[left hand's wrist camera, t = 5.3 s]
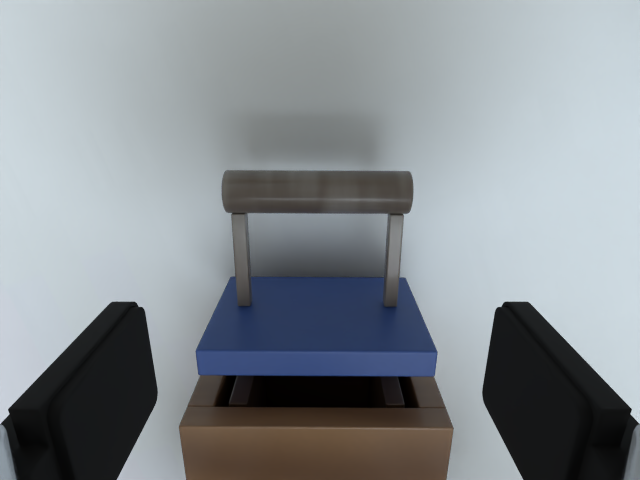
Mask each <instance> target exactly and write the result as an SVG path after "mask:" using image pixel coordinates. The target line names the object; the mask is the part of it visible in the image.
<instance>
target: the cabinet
mask: <svg viewBox="0 0 640 480" xmlns="http://www.w3.org/2000/svg"><path fill="white" fill-rule="evenodd" d="M236 376H237V375H200V377H199V380H198V382H197V385H196V387H195V389H194V392H193V394H192V397H191V399H190V401H189V404H188V407H187V408H186V411H185V413H184V416H183V418H182V420H181V423H180V425H179V431H180V438H181V445H182V452H183V459H184V466H185V474H186V480H446V478H447V471H448V463H449V456H450V449H451V442H452V435H453V426H452V423H451V420H450V418H449V415H448V413H447V410H446V407H445V405H444V402H443V399H442V397H441V394H440V392H439V389H438V386H437V384H436V381H435V378H434V376H433V377H412V376H398V380H399V384H400V388H401V392H402V396H403V399H404V403H405V407H404V408H310V407H229V400H230V397H231V393H232V390H233V387H234V383H235V380H236Z"/></svg>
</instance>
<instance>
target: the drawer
mask: <svg viewBox="0 0 640 480" xmlns="http://www.w3.org/2000/svg"><path fill="white" fill-rule="evenodd" d="M222 201H223V206H224V209H225V211H226V212H227V213H232V215H231V218H232V232H233V246H234V260H235V274H236V277H230V279H229V282H228V284H227V286H226V288H225V290H224V292H223V294H222V296H221V298H220V300H219V303H218V305H217V307H216V309H215V311H214V313H213V315H212V317H211V319H210V322H209V324H208V326H207V328H206V330H205V332H204V334H203V336H202V338H201V340H200V343H199V345H198V347H197V349H196V358H197V367H198V374H199V375H237V376H236V380H235V383H234V387H233V390H232V393H231V397H230V400H229V407H310V408H404V407H405V403H404V399H403V396H402V392H401V388H400V384H399V380H398V376H412V377H433V376H434V375H435V369H436V361H437V350H436V348H435V345H434V343H433V341H432V338H431V336H430V334H429V331H428V329H427V327H426V324H425V322H424V320H423V317H422V315H421V313H420V311H419V308H418V306H417V304H416V301H415V299H414V297H413V294H412V292H411V290H410V287H409V285H408V283H407V280H406V278H399V273H400V260H401V246H402V233H403V219H404V215H403V214H407V213H409V212H410V210H411V207H412V202H413V179H412V175H411V173H410V172H409V171H262V170H227V171H225V173H224V175H223V179H222ZM247 213H354V214H388V221H387V238H386V254H385V270H384V278H383V277H251V267H250V250H249V232H248V215H247Z"/></svg>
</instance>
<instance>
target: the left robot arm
mask: <svg viewBox="0 0 640 480" xmlns="http://www.w3.org/2000/svg"><path fill="white" fill-rule="evenodd" d="M157 394H158V391H157V384H156V377H155V371H154V365H153V359H152V353H151V346H150V340H149V334H148V328H147V322H146V315H145V311H144V309H143V308H142V307H138V305H137V303H136V302H111V303H110V304H109V305H108V306H107V307H106V308H105V309H104V310H103V311H102V312H101V313H100V314H99V315H98V316H97V317H96V318H95V320H94V321H93V322H92V323H91V324H90V325H89V326H88V327H87V328H86V329H85V330H84V331H83V332H82V333H81V334H80V335H79V336H78V337H77V338H76V339H75V340H74V341H73V342H72V343H71V344H70V346H69V347H68V348H67V349H66V350H65V351H64V352H63V353H62V354H61V355H60V356H59V357H58V358H57V359H56V360H55V361H54V362H53V363H52V364H51V365H50V366H49V367H48V368H47V369H46V371H45V372H44V373H43V374H42V375H41V376H40V377H39V378H38V379H37V380H36V381H35V382H34V383H33V384H32V385H31V386H30V387H29V388H28V389H27V390H26V391H25V392H24V393H23V394H22V395H21V397H20V398H19V399H18V400H17V401H16V402H15V403H14V404H13V405H12V406H11V407H10V408H9V409H8V410H9V413H10V415H9V416H8V417H7V418H6V419H5V420H4V421H3V422H2V423H1V424H0V480H117V478H118V476H119V474H120V472H121V470H122V468H123V466H124V464H125V462H126V460H127V458H128V457H129V455H130V453H131V451H132V449H133V447H134V445H135V443H136V441H137V439H138V437H139V435H140V433H141V431H142V429H143V427H144V425H145V424H146V422H147V420H148V418H149V416H150V414H151V412H152V410H153V408H154V406H155V404H156V401H157ZM482 394H483V401H484V404H485V406H486V408H487V410H488V412H489V414H490V416H491V418H492V420H493V422H494V424H495V425H496V427H497V429H498V431H499V433H500V435H501V437H502V439H503V441H504V443H505V445H506V447H507V449H508V451H509V453H510V455H511V457H512V458H513V460H514V462H515V464H516V466H517V468H518V470H519V472H520V474H521V476H522V478H523V480H640V424H639V423H638V422H637V421H636V420H635V419H634V418H633V417H632V416H631V415H630V413H631V410H632V409H631V408H630V407H629V406H628V405H627V404H626V403H625V402H624V401H623V400H622V399H621V398H620V397H619V395H618V394H617V393H616V392H615V391H614V390H613V389H612V388H611V387H610V386H609V385H608V384H607V383H606V382H605V381H604V380H603V379H602V378H601V377H600V376H599V375H598V374H597V373H596V372H595V371H594V369H593V368H592V367H591V366H590V365H589V364H588V363H587V362H586V361H585V360H584V359H583V358H582V357H581V356H580V355H579V354H578V353H577V352H576V351H575V350H574V349H573V348H572V347H571V346H570V344H569V343H568V342H567V341H566V340H565V339H564V338H563V337H562V336H561V335H560V334H559V333H558V332H557V331H556V330H555V329H554V328H553V327H552V326H551V325H550V324H549V323H548V322H547V321H546V320H545V318H544V317H543V316H542V315H541V314H540V313H539V312H538V311H537V310H536V309H535V308H534V307H533V306H532V305H531V304H530V303H529V302H504V303H503V305H502V307H498V308H497V309H496V311H495V315H494V321H493V328H492V334H491V340H490V346H489V353H488V359H487V365H486V371H485V377H484V384H483V391H482Z"/></svg>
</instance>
